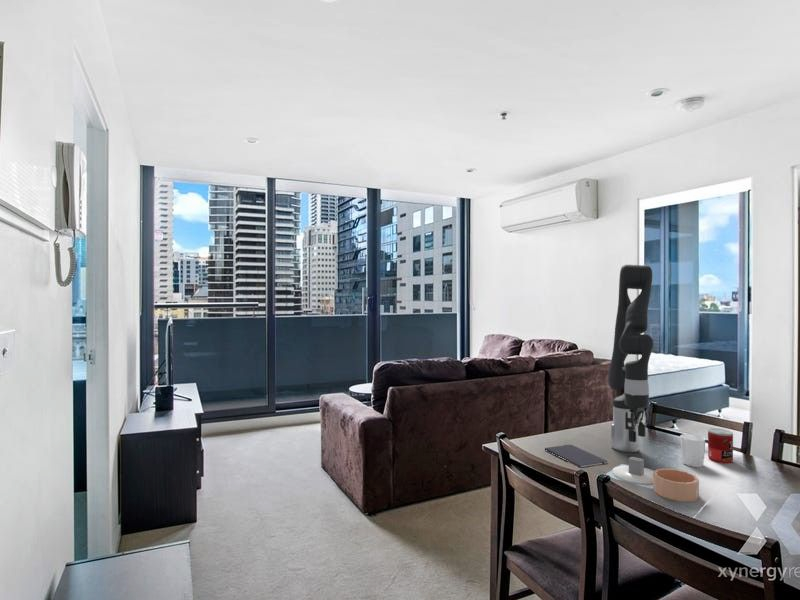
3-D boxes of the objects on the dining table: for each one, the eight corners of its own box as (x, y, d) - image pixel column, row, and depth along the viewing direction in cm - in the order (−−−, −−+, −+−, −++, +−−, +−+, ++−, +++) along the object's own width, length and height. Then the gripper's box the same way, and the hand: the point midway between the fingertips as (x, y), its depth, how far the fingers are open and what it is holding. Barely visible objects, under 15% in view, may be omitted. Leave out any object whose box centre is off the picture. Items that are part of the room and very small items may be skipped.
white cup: (709, 468, 170) (709, 441, 170) (685, 467, 172) (685, 439, 172) (700, 461, 178) (699, 434, 178) (677, 459, 179) (676, 433, 179)
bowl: (648, 494, 149) (648, 475, 149) (661, 483, 158) (661, 465, 158) (691, 506, 141) (691, 486, 141) (702, 494, 149) (702, 475, 149)
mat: (603, 476, 164) (603, 475, 164) (621, 464, 175) (621, 463, 175) (652, 490, 152) (652, 489, 152) (669, 476, 163) (669, 475, 163)
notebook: (544, 451, 192) (580, 470, 172) (544, 447, 192) (580, 465, 172) (570, 448, 196) (608, 465, 176) (570, 444, 196) (608, 461, 176)
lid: (605, 475, 164) (605, 459, 164) (622, 464, 174) (622, 448, 174) (651, 488, 153) (651, 470, 153) (667, 475, 163) (667, 458, 163)
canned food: (725, 465, 173) (725, 435, 173) (703, 458, 180) (703, 429, 180) (737, 461, 177) (737, 432, 177) (715, 455, 184) (715, 427, 184)
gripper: (633, 387, 171) (633, 432, 171) (617, 393, 161) (617, 441, 161) (655, 390, 165) (656, 436, 165) (640, 396, 155) (641, 446, 155)
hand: (637, 439), depth 163 cm, fingers open, 8 cm apart
